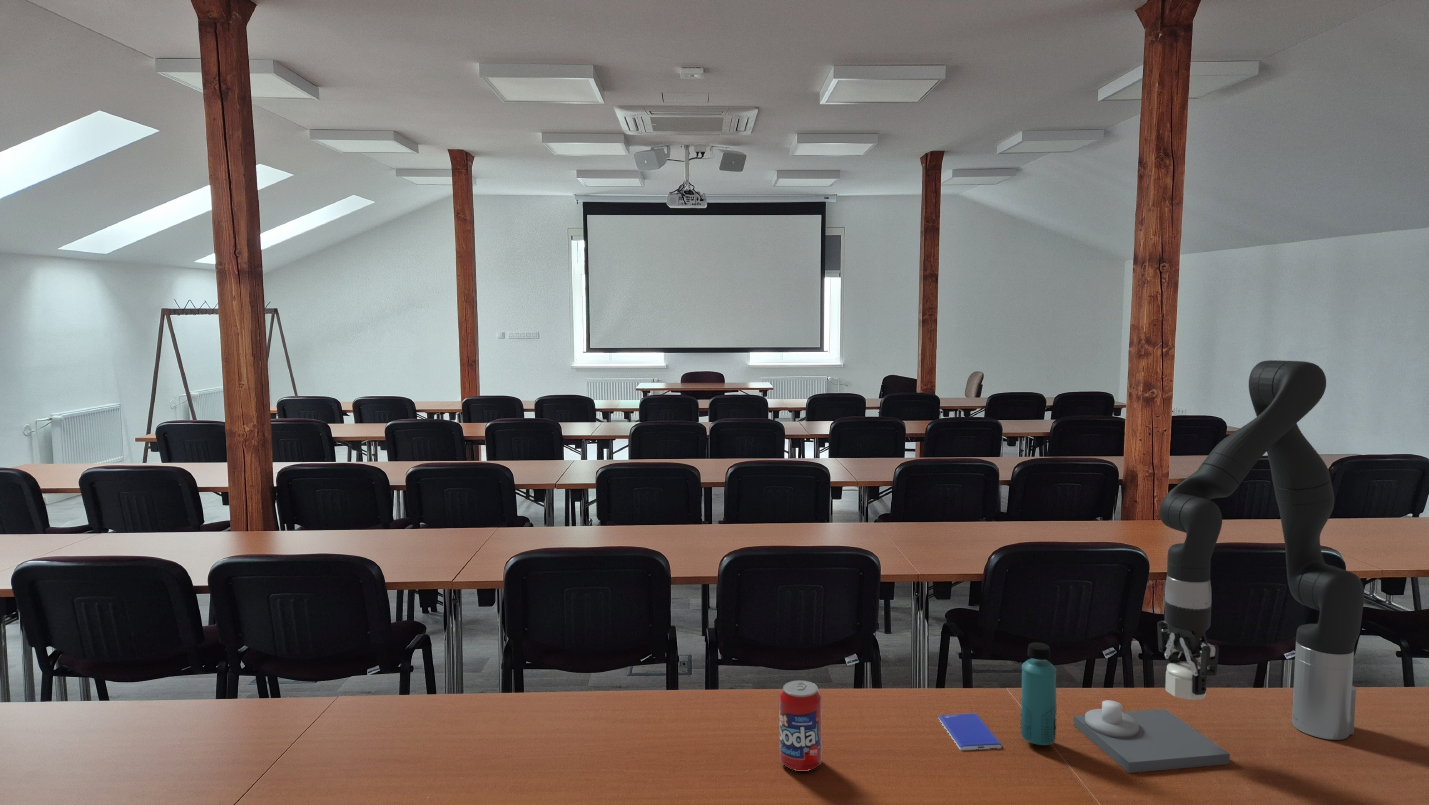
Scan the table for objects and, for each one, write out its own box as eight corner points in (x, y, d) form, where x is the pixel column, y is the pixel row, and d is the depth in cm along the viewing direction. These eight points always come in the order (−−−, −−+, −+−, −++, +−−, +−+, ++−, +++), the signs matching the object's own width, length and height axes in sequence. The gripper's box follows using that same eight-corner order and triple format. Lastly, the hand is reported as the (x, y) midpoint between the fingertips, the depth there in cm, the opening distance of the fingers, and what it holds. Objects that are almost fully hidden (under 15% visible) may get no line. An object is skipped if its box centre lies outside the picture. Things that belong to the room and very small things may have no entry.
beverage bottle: (1059, 754, 156) (1061, 652, 154) (1022, 751, 157) (1024, 650, 155) (1052, 737, 162) (1054, 639, 160) (1016, 734, 164) (1018, 637, 162)
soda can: (825, 757, 156) (825, 681, 155) (817, 778, 149) (816, 699, 148) (785, 750, 159) (785, 676, 158) (775, 771, 152) (774, 693, 150)
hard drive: (938, 715, 170) (960, 745, 158) (976, 712, 171) (1001, 743, 159) (938, 722, 170) (960, 753, 158) (976, 720, 171) (1001, 751, 159)
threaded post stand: (1164, 718, 169) (1165, 688, 169) (1229, 764, 152) (1230, 730, 151) (1073, 725, 167) (1074, 695, 166) (1128, 773, 149) (1129, 739, 149)
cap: (1189, 683, 159) (1190, 660, 159) (1213, 698, 153) (1214, 674, 153) (1158, 686, 159) (1159, 663, 158) (1181, 701, 152) (1182, 677, 152)
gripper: (1234, 612, 147) (1232, 701, 149) (1180, 586, 162) (1178, 668, 163) (1196, 615, 147) (1194, 705, 148) (1144, 589, 161) (1143, 671, 162)
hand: (1185, 685), depth 156 cm, fingers closed on cap, 6 cm apart
